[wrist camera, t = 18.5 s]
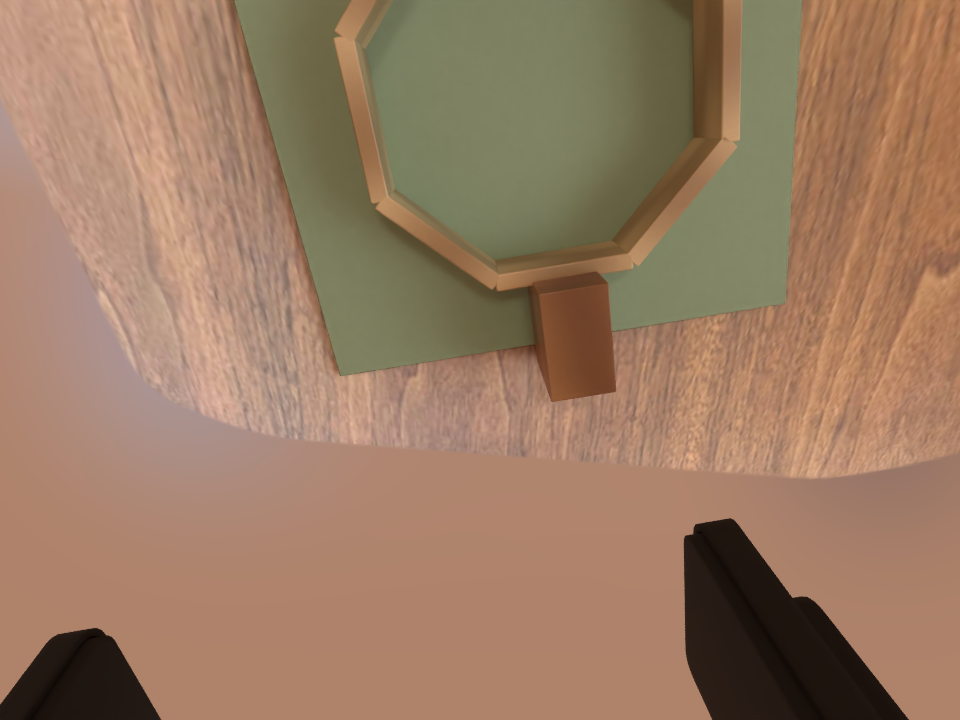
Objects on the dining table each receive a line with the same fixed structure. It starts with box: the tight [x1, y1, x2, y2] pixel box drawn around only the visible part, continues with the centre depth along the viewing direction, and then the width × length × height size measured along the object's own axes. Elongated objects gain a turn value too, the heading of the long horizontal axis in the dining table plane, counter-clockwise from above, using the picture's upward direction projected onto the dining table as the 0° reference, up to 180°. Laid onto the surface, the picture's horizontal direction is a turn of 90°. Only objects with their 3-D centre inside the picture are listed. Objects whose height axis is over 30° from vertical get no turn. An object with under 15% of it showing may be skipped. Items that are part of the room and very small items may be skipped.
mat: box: [234, 0, 802, 376], centre depth 26 cm, size 24×24×1 cm
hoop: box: [334, 0, 742, 402], centre depth 24 cm, size 16×21×5 cm
